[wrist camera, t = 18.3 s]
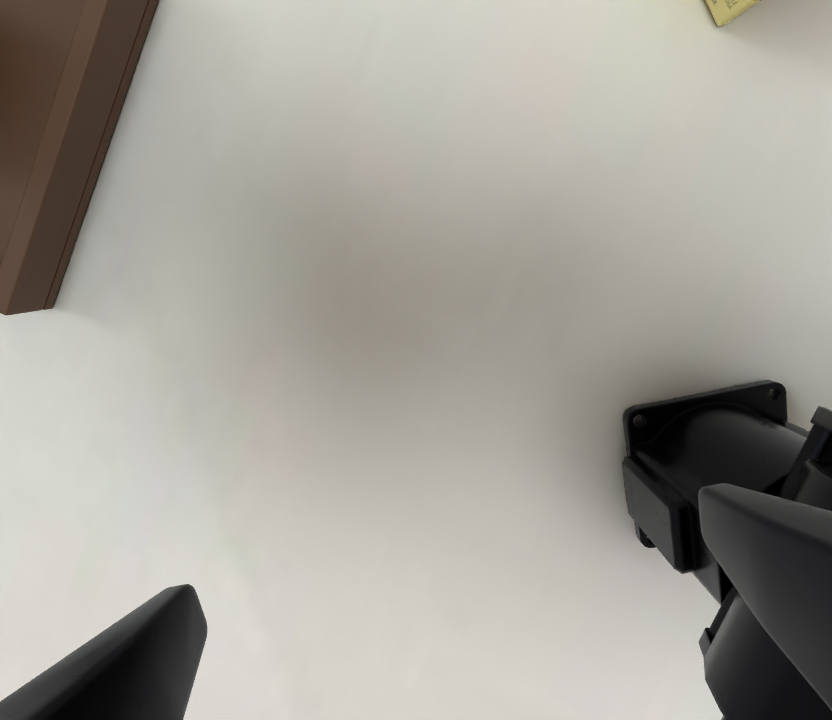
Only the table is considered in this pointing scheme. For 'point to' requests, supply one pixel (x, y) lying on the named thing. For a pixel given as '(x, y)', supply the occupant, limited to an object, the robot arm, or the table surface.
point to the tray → (56, 129)
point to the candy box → (728, 9)
